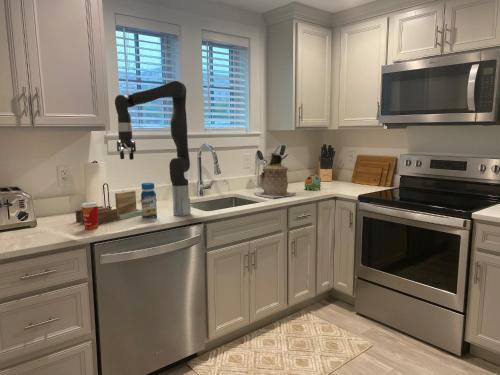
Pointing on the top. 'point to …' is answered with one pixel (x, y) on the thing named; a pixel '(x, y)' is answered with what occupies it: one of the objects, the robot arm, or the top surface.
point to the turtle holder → (312, 182)
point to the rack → (99, 216)
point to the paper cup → (90, 215)
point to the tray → (130, 214)
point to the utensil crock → (274, 179)
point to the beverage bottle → (148, 201)
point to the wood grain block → (125, 202)
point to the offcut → (102, 209)
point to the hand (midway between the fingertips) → (126, 159)
